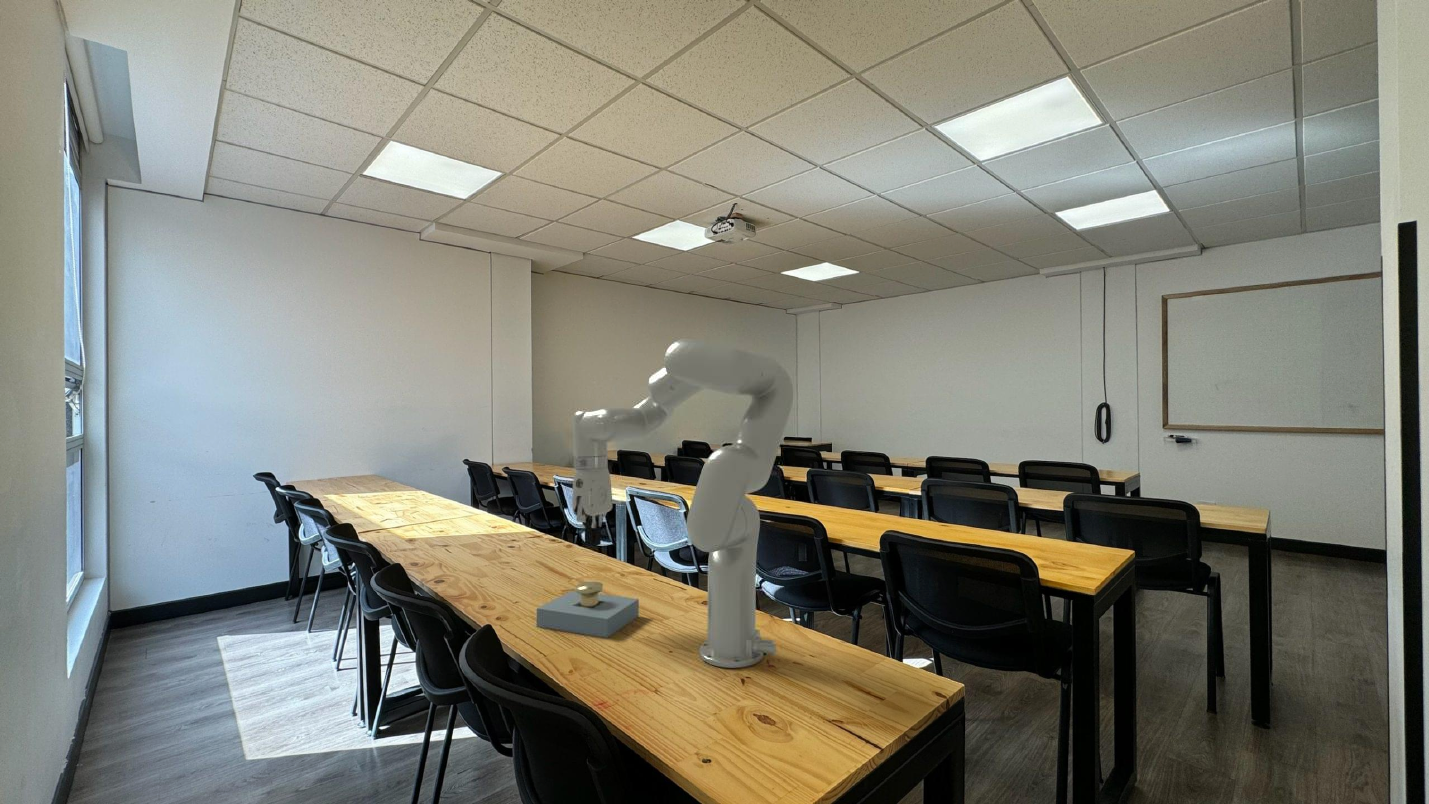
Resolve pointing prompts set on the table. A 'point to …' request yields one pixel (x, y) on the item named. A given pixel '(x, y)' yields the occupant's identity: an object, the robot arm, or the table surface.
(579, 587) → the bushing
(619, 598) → the jig
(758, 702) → the table surface
